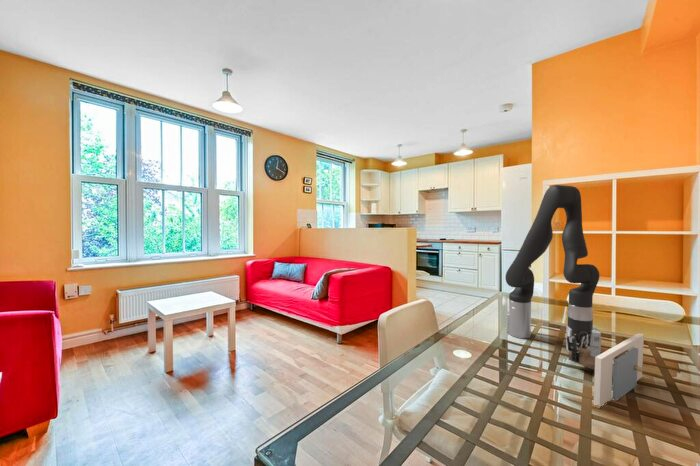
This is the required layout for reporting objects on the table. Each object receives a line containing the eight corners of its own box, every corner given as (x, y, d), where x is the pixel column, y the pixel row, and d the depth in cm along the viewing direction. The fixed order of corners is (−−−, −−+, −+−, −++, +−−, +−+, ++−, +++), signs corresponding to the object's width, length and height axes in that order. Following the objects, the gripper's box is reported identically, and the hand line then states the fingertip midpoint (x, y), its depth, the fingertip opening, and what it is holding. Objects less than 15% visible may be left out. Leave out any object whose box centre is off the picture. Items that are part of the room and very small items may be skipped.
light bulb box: (595, 351, 124) (596, 326, 123) (601, 358, 118) (602, 333, 117) (565, 346, 128) (565, 323, 127) (569, 354, 122) (569, 329, 121)
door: (612, 399, 93) (614, 359, 92) (632, 384, 100) (634, 347, 99) (622, 403, 91) (624, 363, 90) (642, 388, 98) (644, 350, 97)
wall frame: (593, 405, 91) (595, 357, 89) (636, 375, 106) (638, 332, 104) (599, 408, 89) (601, 359, 88) (641, 377, 104) (643, 334, 103)
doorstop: (568, 359, 112) (568, 348, 112) (575, 356, 114) (575, 345, 114) (614, 377, 100) (615, 364, 99) (620, 373, 102) (621, 360, 102)
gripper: (578, 309, 116) (577, 350, 118) (558, 317, 110) (558, 360, 111) (601, 315, 110) (599, 358, 111) (582, 323, 103) (581, 369, 104)
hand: (579, 359), depth 111 cm, fingers closed on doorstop, 5 cm apart
